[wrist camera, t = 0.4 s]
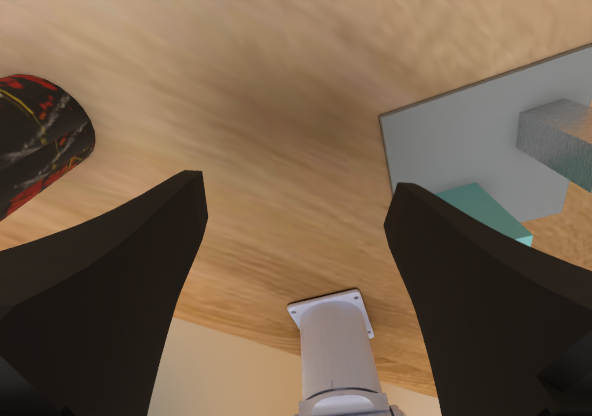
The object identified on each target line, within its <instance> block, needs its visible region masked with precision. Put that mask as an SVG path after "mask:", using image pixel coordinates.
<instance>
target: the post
mask: <svg viewBox="0 0 592 416" xmlns="http://www.w3.org/2000/svg"><path fill="white" fill-rule="evenodd" d="M516 148H518V149H519V150H521V151H522V152H524V153H526V154H527V155H529V156H531V157H532V158H534V159H536V160H537V161H539V162H541V163H542V164H544V165H546V166H547V167H549V168H550V169H552V170H554V171H555V172H557V173H559V174H560V175H562V176H564V177H565V178H567V179H569V180H570V181H572V182H574V183H575V184H577V185H578V186H580V187H582V188H583V189H585V190H587V191H588V192H590V193H592V107H590V106H586V105H583V104H580V103H577V102H574V101H571V100H568V99H565V98H564V99H560V100H557V101H554V102H551V103H548V104H545V105H541V106H538V107H535V108H532V109H529V110H525V111H522V112H520V116H519V124H518V132H517V140H516Z"/></svg>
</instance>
